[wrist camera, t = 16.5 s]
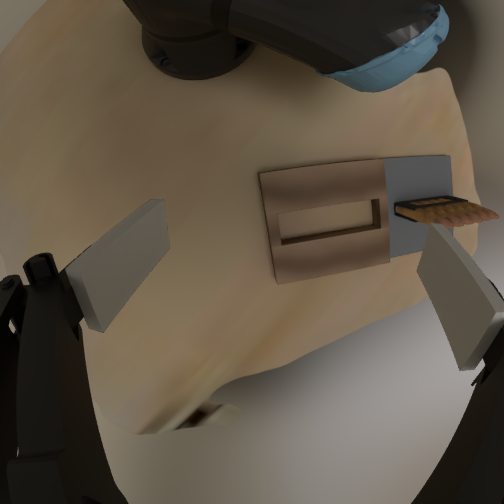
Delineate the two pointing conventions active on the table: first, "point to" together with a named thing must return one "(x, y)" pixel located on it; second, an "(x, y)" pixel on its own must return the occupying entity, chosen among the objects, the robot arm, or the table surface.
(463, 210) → the ammunition clip
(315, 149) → the table surface
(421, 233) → the slate mat
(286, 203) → the walnut caddy
